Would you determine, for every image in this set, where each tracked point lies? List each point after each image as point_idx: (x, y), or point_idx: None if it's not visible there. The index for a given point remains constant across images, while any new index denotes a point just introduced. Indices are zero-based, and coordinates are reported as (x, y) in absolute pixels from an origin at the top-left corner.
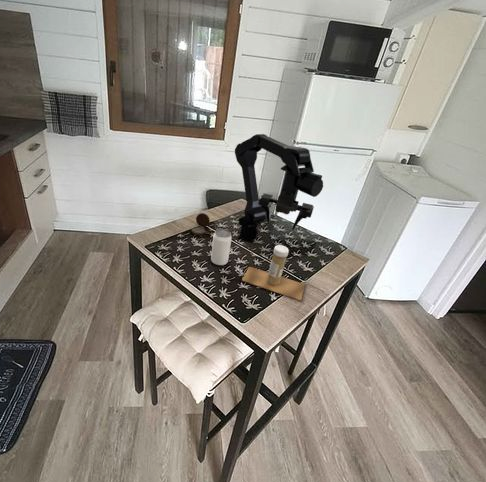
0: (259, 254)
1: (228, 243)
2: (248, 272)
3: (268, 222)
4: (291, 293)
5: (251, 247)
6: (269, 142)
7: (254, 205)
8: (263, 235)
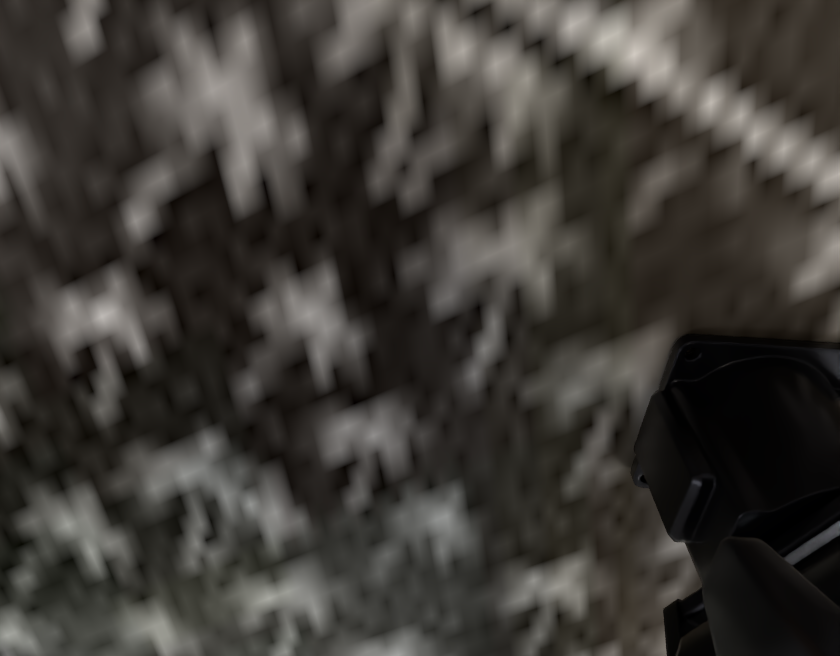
0: (572, 84)
1: None
2: None
3: (750, 555)
4: None
5: (692, 213)
6: None
7: None
8: (548, 512)
